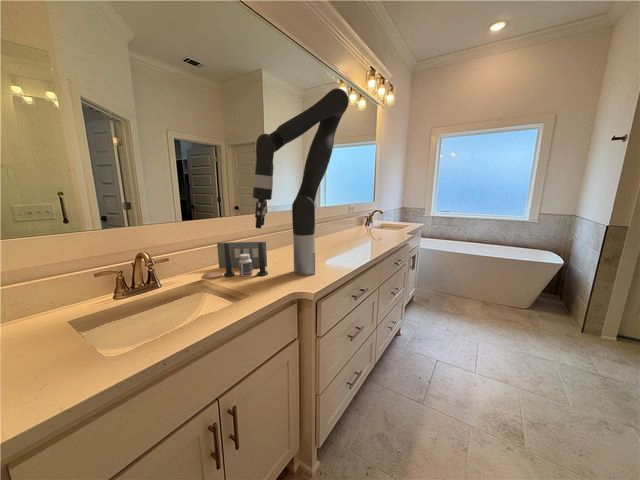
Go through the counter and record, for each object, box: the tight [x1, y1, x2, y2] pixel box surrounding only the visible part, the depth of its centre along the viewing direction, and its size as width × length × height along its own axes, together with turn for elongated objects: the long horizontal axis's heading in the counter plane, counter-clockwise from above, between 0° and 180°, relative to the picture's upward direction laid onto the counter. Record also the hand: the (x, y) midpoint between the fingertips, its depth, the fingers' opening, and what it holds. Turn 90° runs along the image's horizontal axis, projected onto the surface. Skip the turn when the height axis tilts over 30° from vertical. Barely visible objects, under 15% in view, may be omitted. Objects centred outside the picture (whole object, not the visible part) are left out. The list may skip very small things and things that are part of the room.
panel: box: [216, 241, 268, 269], centre depth 118 cm, size 22×2×12 cm, turn 95°
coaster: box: [201, 271, 224, 280], centre depth 108 cm, size 8×8×1 cm
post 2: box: [257, 241, 269, 277], centre depth 108 cm, size 4×4×14 cm
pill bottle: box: [238, 254, 253, 278], centre depth 108 cm, size 5×5×9 cm
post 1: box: [223, 243, 236, 278], centre depth 107 cm, size 4×4×14 cm
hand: (259, 226), depth 106 cm, fingers open, 8 cm apart
